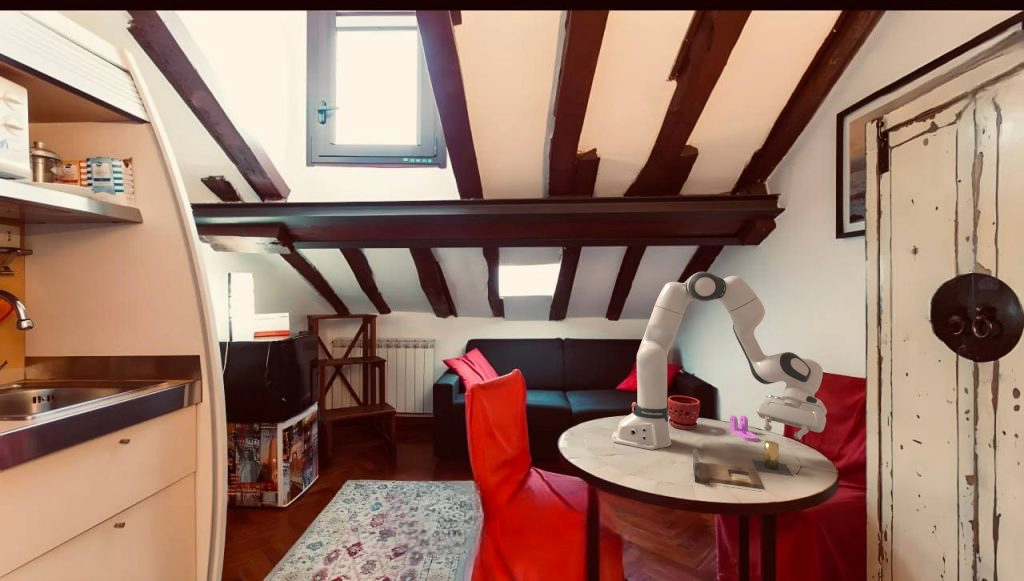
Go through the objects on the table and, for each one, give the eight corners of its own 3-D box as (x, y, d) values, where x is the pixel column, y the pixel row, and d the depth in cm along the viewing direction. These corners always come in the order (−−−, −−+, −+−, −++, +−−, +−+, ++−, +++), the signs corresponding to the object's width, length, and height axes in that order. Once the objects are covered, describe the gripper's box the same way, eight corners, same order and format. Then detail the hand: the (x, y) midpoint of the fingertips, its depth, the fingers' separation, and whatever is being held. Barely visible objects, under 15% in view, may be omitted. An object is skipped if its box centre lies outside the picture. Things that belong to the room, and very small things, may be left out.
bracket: (729, 430, 178) (729, 414, 178) (743, 430, 178) (743, 414, 178) (746, 441, 165) (746, 424, 165) (760, 442, 165) (760, 424, 165)
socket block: (694, 482, 131) (694, 462, 131) (693, 466, 142) (693, 449, 142) (761, 491, 124) (761, 471, 124) (754, 475, 135) (754, 456, 135)
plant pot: (665, 428, 181) (665, 400, 181) (669, 420, 192) (669, 394, 192) (698, 433, 175) (698, 404, 175) (701, 424, 186) (701, 397, 186)
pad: (757, 474, 136) (757, 471, 136) (751, 462, 145) (751, 459, 145) (793, 479, 132) (793, 476, 132) (785, 466, 142) (785, 463, 142)
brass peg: (765, 468, 138) (765, 444, 138) (763, 464, 141) (763, 440, 141) (780, 470, 136) (780, 446, 136) (777, 465, 140) (777, 441, 140)
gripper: (762, 389, 155) (747, 420, 150) (826, 401, 137) (812, 437, 132) (768, 399, 157) (754, 430, 152) (832, 413, 140) (818, 448, 135)
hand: (781, 433), depth 142 cm, fingers open, 8 cm apart
